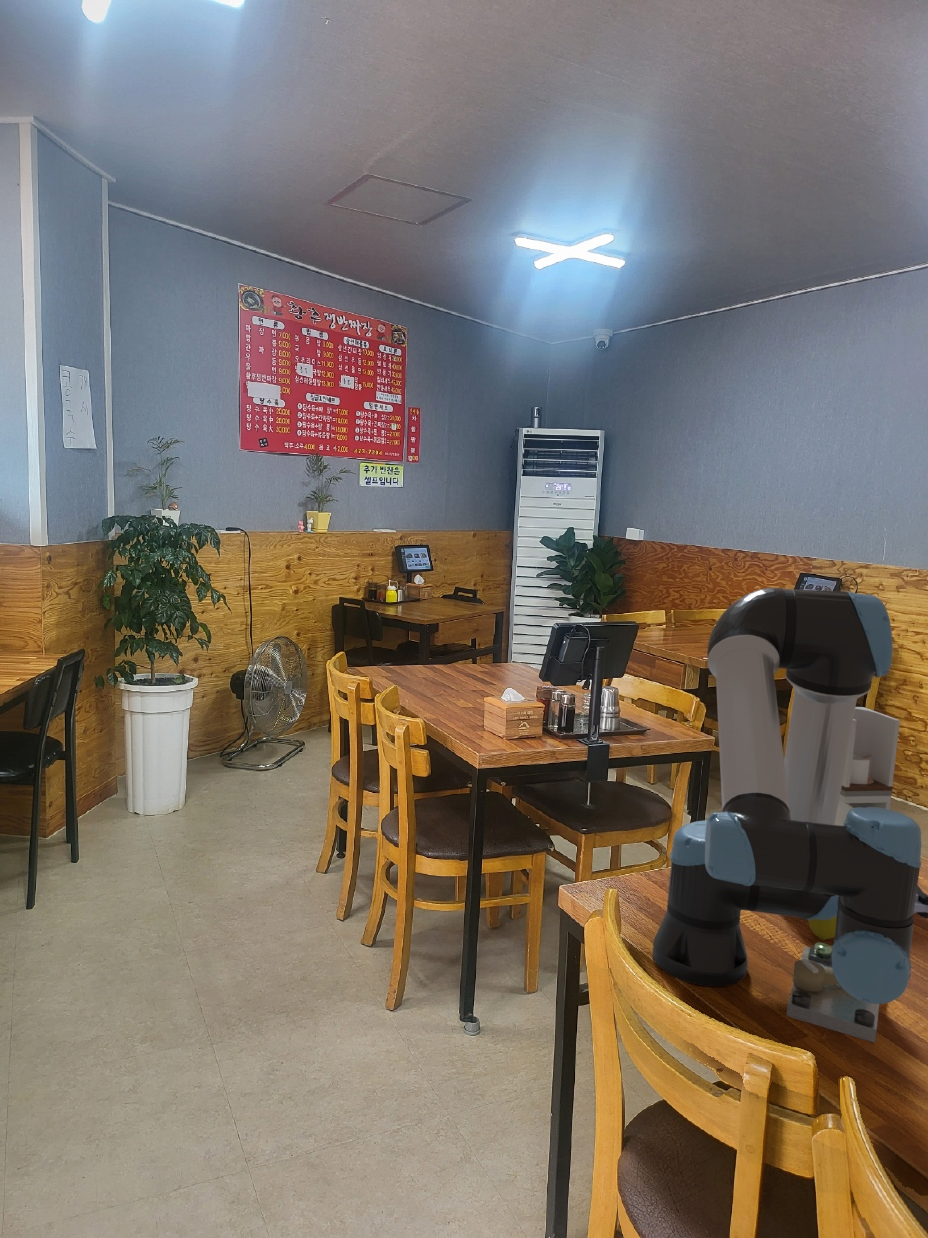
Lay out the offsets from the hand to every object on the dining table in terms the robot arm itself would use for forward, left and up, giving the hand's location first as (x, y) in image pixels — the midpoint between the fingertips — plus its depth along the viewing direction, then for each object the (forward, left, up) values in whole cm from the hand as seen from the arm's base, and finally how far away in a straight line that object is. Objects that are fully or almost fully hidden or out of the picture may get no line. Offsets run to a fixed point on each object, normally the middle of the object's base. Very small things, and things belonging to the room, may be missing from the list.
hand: (879, 856), depth 123 cm
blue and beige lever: (-1, +6, -23) cm, 24 cm away
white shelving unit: (+22, +53, -26) cm, 63 cm away
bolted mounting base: (-1, +6, -26) cm, 26 cm away
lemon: (+5, +24, -26) cm, 36 cm away
